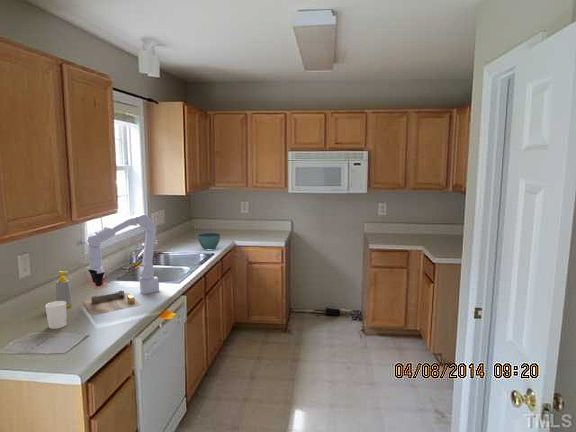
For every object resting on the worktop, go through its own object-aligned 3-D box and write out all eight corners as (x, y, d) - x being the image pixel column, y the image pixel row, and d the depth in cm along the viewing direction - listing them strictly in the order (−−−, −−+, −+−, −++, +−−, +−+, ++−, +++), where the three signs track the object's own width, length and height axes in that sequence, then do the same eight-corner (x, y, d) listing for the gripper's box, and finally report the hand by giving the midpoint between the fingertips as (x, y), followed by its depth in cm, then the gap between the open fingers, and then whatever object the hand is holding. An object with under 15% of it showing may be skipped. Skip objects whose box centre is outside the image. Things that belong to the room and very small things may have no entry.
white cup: (71, 324, 176) (69, 303, 175) (52, 331, 169) (50, 308, 168) (62, 321, 180) (60, 299, 179) (43, 326, 174) (41, 304, 173)
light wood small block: (132, 300, 203) (132, 294, 203) (134, 302, 200) (134, 297, 199) (127, 301, 201) (127, 295, 201) (129, 303, 198) (129, 298, 198)
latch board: (128, 295, 215) (128, 292, 215) (141, 308, 196) (141, 304, 196) (83, 304, 202) (82, 300, 202) (92, 318, 183) (92, 315, 183)
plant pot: (213, 246, 345) (213, 232, 343) (224, 249, 331) (224, 234, 329) (194, 249, 333) (193, 234, 332) (204, 252, 319) (204, 237, 318)
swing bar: (123, 295, 209) (123, 289, 209) (125, 296, 207) (124, 291, 206) (91, 301, 200) (90, 295, 200) (92, 303, 198) (91, 297, 197)
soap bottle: (65, 309, 195) (62, 273, 193) (53, 308, 196) (50, 272, 194) (75, 304, 202) (73, 269, 199) (63, 303, 203) (61, 269, 201)
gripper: (83, 256, 206) (85, 282, 207) (89, 262, 194) (91, 289, 196) (98, 254, 210) (100, 279, 212) (105, 259, 198) (107, 286, 200)
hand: (97, 284), depth 204 cm, fingers open, 7 cm apart
